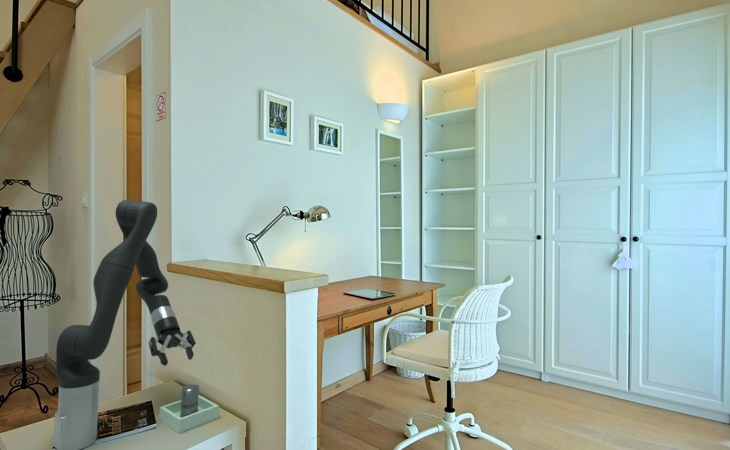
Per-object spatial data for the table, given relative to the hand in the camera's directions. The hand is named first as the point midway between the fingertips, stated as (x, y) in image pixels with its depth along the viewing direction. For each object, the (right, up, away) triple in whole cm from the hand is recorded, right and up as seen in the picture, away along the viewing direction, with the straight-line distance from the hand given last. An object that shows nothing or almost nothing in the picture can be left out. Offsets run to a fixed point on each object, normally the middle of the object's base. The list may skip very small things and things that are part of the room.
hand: (179, 361), depth 128 cm
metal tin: (+6, -16, -5) cm, 18 cm away
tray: (+6, -17, -5) cm, 19 cm away
